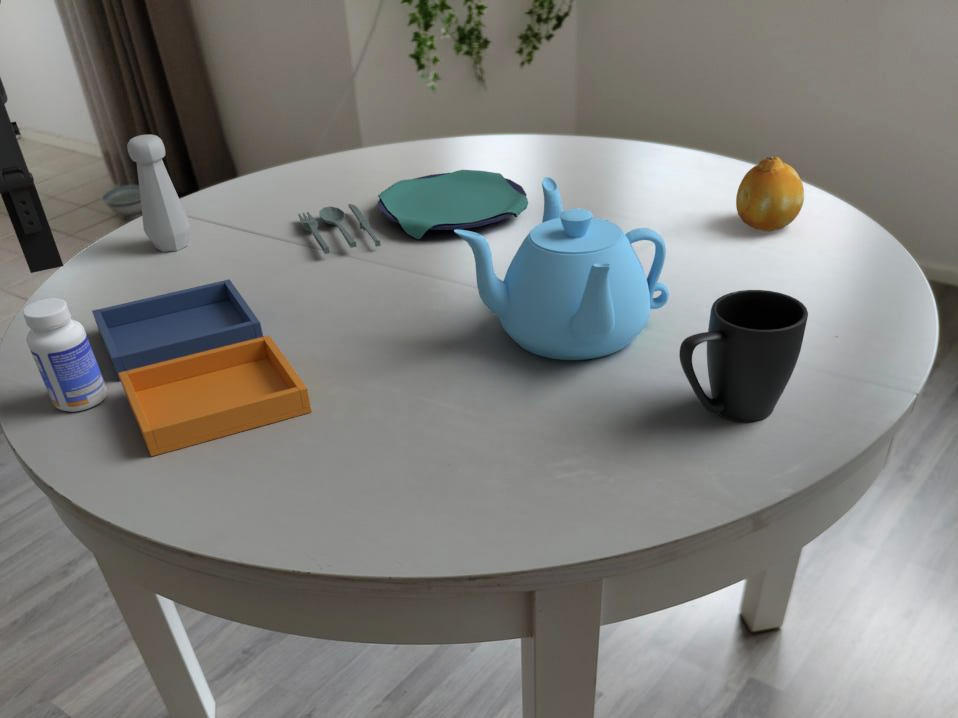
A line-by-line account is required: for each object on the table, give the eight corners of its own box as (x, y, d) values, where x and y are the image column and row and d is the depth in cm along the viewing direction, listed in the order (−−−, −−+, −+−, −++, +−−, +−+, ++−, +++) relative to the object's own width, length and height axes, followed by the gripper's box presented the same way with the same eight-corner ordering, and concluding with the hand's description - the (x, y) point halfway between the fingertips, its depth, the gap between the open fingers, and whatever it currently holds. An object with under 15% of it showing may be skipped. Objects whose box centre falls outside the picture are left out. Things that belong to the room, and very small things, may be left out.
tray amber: (151, 456, 86) (142, 432, 84) (125, 396, 95) (117, 372, 93) (311, 412, 91) (307, 388, 89) (274, 357, 99) (269, 334, 97)
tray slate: (119, 381, 97) (111, 358, 95) (99, 332, 105) (91, 310, 103) (265, 344, 101) (260, 321, 99) (234, 300, 110) (229, 278, 108)
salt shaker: (142, 254, 121) (110, 145, 112) (160, 236, 125) (130, 129, 116) (184, 255, 120) (155, 145, 111) (201, 237, 124) (174, 129, 115)
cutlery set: (549, 225, 122) (549, 207, 120) (324, 267, 115) (321, 248, 114) (496, 177, 135) (495, 160, 133) (292, 212, 129) (289, 195, 127)
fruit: (711, 203, 118) (749, 150, 111) (751, 191, 122) (790, 140, 115) (750, 253, 117) (790, 203, 110) (788, 240, 121) (830, 191, 114)
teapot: (455, 348, 99) (447, 229, 90) (545, 281, 110) (546, 169, 101) (600, 388, 92) (606, 263, 83) (681, 312, 102) (694, 194, 94)
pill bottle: (118, 387, 96) (86, 295, 89) (91, 415, 92) (55, 321, 85) (71, 384, 97) (35, 292, 90) (42, 411, 93) (3, 318, 86)
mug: (647, 409, 88) (656, 312, 82) (750, 376, 92) (767, 281, 85) (699, 451, 83) (713, 351, 76) (806, 414, 86) (829, 316, 80)
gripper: (-1, -32, 62) (103, 282, 77) (-31, -75, 78) (59, 190, 93) (-124, -17, 60) (8, 303, 75) (-129, -65, 76) (-20, 206, 91)
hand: (36, 241), depth 84 cm, fingers open, 13 cm apart
